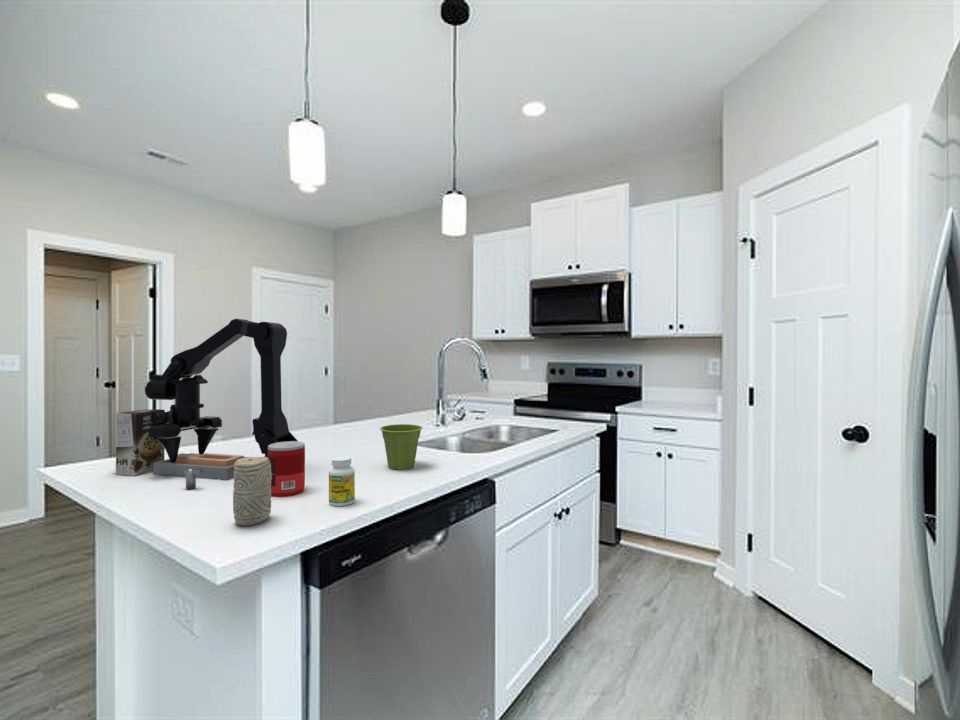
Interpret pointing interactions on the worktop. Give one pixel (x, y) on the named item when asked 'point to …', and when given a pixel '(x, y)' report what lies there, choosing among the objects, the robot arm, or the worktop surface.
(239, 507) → the carving
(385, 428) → the plant pot
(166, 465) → the tray
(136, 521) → the worktop surface
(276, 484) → the canned food
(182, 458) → the wooden slotted key block
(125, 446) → the cookie box
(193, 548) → the worktop surface
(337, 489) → the supplement bottle
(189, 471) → the post
